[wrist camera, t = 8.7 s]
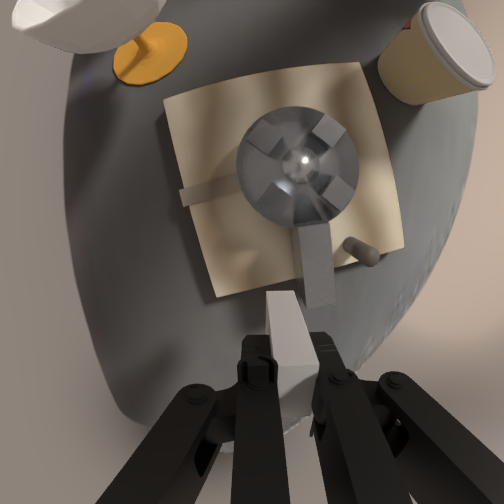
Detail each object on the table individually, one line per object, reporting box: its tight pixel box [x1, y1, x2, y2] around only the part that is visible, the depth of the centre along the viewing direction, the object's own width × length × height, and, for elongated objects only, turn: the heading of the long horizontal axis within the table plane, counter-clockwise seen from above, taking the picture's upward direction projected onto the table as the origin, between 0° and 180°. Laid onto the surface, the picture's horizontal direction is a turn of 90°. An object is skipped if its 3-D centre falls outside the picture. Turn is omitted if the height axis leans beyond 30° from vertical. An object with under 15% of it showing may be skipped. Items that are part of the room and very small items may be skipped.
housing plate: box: [163, 62, 404, 297], centre depth 22 cm, size 20×20×7 cm
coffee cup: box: [378, 2, 496, 105], centre depth 17 cm, size 9×9×12 cm
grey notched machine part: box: [236, 106, 359, 309], centre depth 21 cm, size 16×10×5 cm, turn 9°
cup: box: [12, 0, 187, 85], centre depth 14 cm, size 12×12×17 cm
